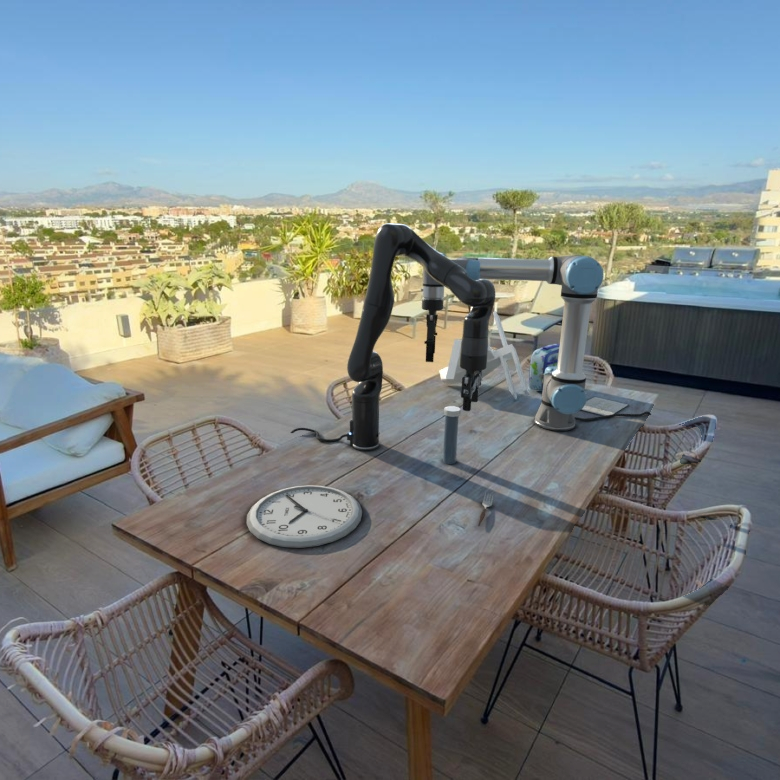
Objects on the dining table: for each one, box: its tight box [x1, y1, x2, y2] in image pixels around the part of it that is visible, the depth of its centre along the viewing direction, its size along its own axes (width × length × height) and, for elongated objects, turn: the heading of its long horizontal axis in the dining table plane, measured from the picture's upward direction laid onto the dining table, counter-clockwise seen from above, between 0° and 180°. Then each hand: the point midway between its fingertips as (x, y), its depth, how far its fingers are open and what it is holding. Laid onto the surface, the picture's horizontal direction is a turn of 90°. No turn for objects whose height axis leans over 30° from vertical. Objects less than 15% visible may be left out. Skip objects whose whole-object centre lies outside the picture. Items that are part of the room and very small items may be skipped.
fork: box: [477, 491, 494, 527], centre depth 140 cm, size 3×16×2 cm, turn 160°
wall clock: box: [246, 484, 363, 549], centre depth 137 cm, size 30×2×30 cm
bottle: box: [442, 415, 460, 465], centre depth 168 cm, size 4×4×18 cm
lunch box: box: [528, 343, 560, 393], centre depth 248 cm, size 26×11×21 cm, turn 134°
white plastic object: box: [438, 310, 531, 400], centre depth 245 cm, size 37×45×31 cm
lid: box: [443, 405, 461, 417], centre depth 166 cm, size 5×5×2 cm
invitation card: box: [580, 396, 629, 416], centre depth 226 cm, size 21×1×15 cm
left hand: (470, 406), depth 152 cm, fingers open, 8 cm apart
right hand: (430, 357), depth 190 cm, fingers open, 13 cm apart
